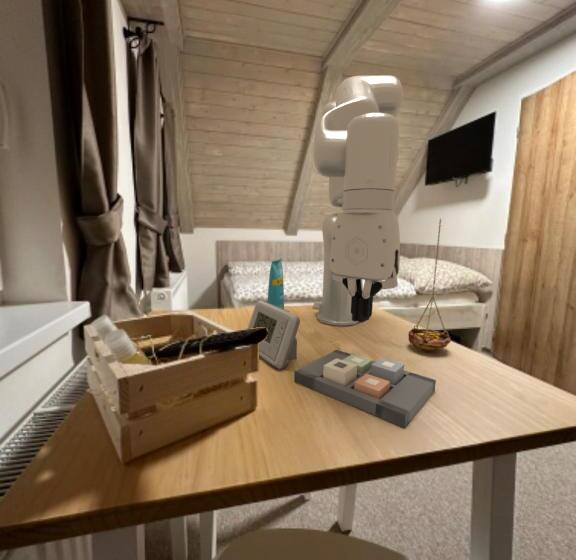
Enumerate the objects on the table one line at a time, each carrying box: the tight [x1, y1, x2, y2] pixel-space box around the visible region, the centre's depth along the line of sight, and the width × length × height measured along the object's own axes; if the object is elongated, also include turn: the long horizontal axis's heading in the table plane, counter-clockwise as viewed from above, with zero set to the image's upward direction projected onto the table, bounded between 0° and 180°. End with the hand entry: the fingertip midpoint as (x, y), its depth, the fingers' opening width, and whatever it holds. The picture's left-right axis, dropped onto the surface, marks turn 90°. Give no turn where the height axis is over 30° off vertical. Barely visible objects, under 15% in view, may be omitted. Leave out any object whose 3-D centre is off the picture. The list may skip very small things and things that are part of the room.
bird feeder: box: [407, 217, 451, 351], centre depth 72 cm, size 9×9×30 cm
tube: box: [266, 258, 285, 309], centre depth 83 cm, size 7×5×19 cm, turn 169°
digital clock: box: [247, 300, 301, 370], centre depth 68 cm, size 16×9×11 cm, turn 22°
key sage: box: [343, 353, 373, 374], centre depth 60 cm, size 4×4×3 cm
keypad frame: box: [293, 349, 437, 429], centre depth 56 cm, size 20×14×2 cm
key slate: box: [371, 357, 405, 385], centre depth 56 cm, size 4×4×3 cm
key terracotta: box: [354, 374, 390, 400], centre depth 52 cm, size 4×4×3 cm
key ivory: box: [323, 358, 357, 386], centre depth 56 cm, size 4×4×3 cm
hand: (360, 319), depth 52 cm, fingers closed
